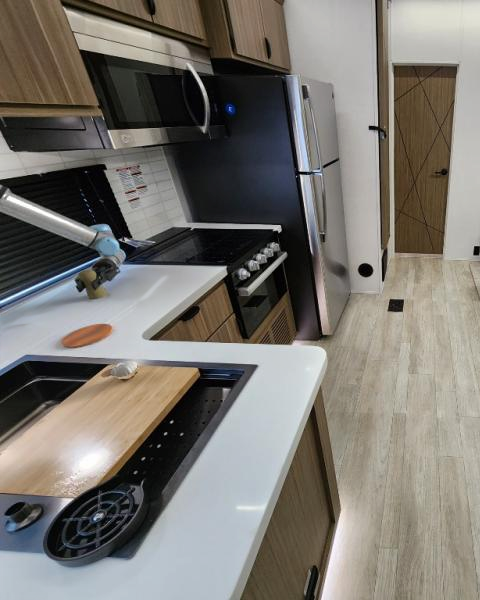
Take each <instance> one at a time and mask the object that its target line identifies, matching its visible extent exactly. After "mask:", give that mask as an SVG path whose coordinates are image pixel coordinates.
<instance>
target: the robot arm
mask: <svg viewBox="0 0 480 600" xmlns="http://www.w3.org/2000/svg"><path fill="white" fill-rule="evenodd" d="M0 212H1V213H3V214H6V215H8V216H11V217H13V218H16V219H18V220H21V221H23V222H25V223H28V224H31V225H33V226H36V227H38V228H40V229H43V230H45V231H48V232H50V233H53V234H55V235H58V236H61V237H63V238H65V239H68V240H71V241H73V242H76V243H78V244H80V245H83V246H85V247H88V248H90V249H93V250H95V251H97V252H98V254H99V256H100V257H99V258H98V259H96V261H94V262H93V264H92V266H91V269H90V270H93V271H95V272H96V279H95V280H94V281H93V282H92V283H91V285H92V287H93V289H94V290H97V289H98V288H99V286H100V285H102V286H103V284H104V283H107V281H108V282H112V281H113V280H114V279H115V278H116V277H117V275H119V274H120V273H121V269H120V266H121V265H122V264H123V263H124V262H125V260H126V257H127V255H126V252H125V251H124V250H123V249H121V248H120V243H119V241H118V240H117V239H116V237H115V235H114V233H113V231H112V229H111V227H110V226H109V225H108V224H106V223H101V224H100V223H98V224H94V225H91V226H87V225H85V224H82V223H81V222H79V221H77V220H74V219H72V218H69V217H67V216H64V215H63V214H60V213H58V212H56V211H54V210H51V209H49V208H47V207H44V206H42V205H40V204H38V203H35V202H33V201H31V200H28V199H26V198H24V197H22V196H19V195H17V194H15V193H13V192H12V191H11V190H10V188H8V187H6V186H4V185H3V184H0ZM74 282H75V284H76V285H75V288H76V290H77V292H78V293H82V292H83V291H84V290H86V289H85V285H84V283H83V280H81V279H80V278H79V276H78V275H77V277H75V278H74Z"/></svg>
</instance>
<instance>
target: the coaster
mask: <svg viewBox="0 0 480 600" xmlns="http://www.w3.org/2000/svg"><path fill="white" fill-rule="evenodd" d="M113 328H114V327H113V326H112V325H111V324H109V323H96V324H91V325H86V326H84V327H80V328H78V329H75V330H73V331H72V332H70V333H68V334H67V335H65V336H64V337H63V338H62V339H61V341H60V343H61V345H62V346H63V347H64V348H68V349H74V348H75V349H76V348H81V347H85V345H86V346H88V345H92V344H94V342H95V343H97V342H99V341H102V340H103V339H105V338H107V337H108V336H110V334H111V333H112V332H113ZM91 343H92V344H91Z"/></svg>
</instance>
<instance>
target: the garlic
mask: <svg viewBox="0 0 480 600" xmlns="http://www.w3.org/2000/svg"><path fill="white" fill-rule="evenodd" d="M137 365H138V366H139V363H137V362H136V361H134V360H133V361H132V360H125V361H121V362H118V363H117V364H116V365H115V366H114V368H113V369H111V371H110V376H111V377H112V376H116V377H123V376H127V375H129V374H131V373H132V372H133V371H134V370H135V369H136V368H137Z"/></svg>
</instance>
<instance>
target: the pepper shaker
mask: <svg viewBox="0 0 480 600" xmlns="http://www.w3.org/2000/svg"><path fill="white" fill-rule="evenodd" d="M78 276H79V278H80V279H81V280H83V283H84V285H85V289H84V290H85V291H86V295H87V298H88V299H89V300H98V299H102V298H104V297H106V296H107V295H108V292H107V290H106V289H105V288H104V286H103V284H102V285H100V286H99V288H98V289H97V290H94V289H93V287H92V285H91V283H92V282H93V281H94V280H95V279H96V272H95V271H93V270H91V269H84V270H81V271H80V272H78V274H77V277H78Z"/></svg>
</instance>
